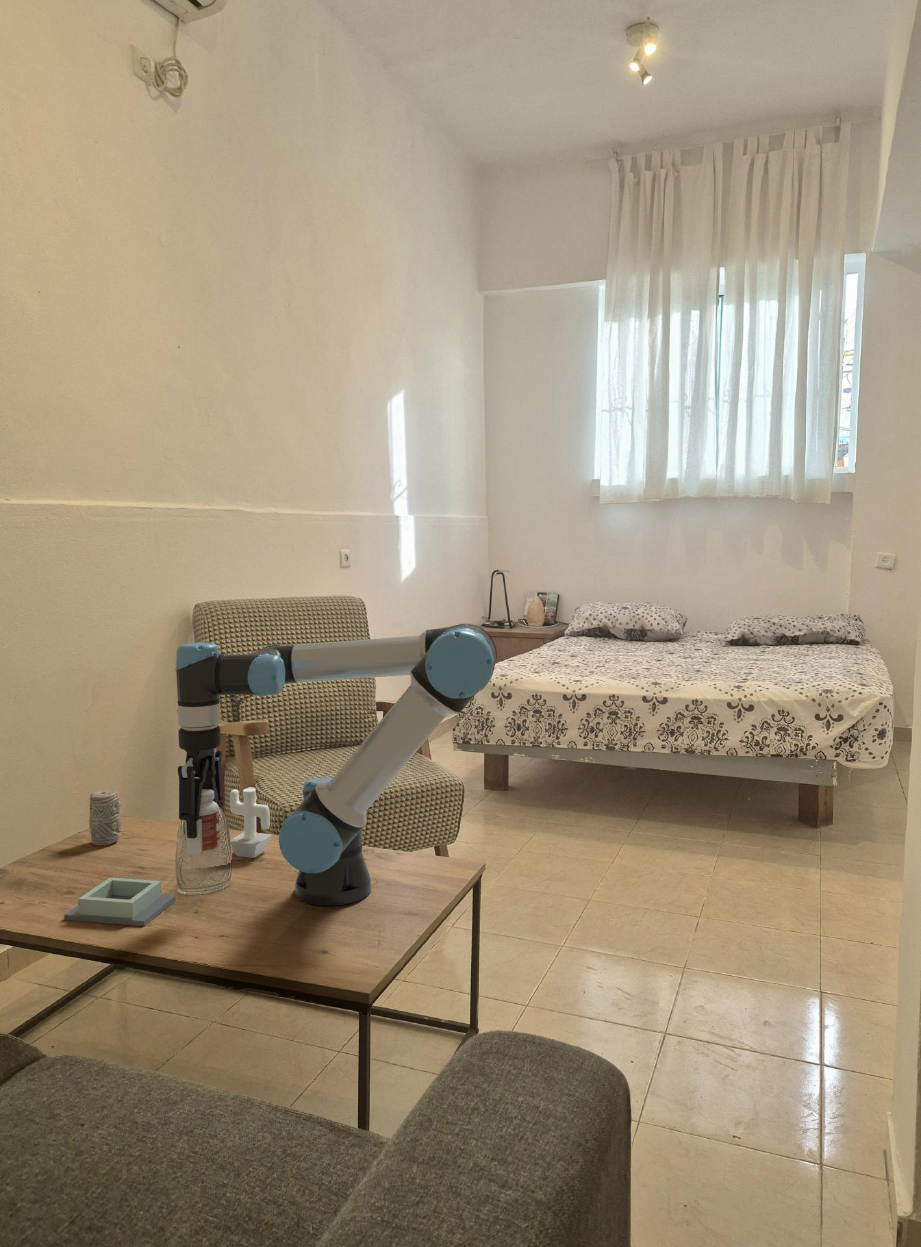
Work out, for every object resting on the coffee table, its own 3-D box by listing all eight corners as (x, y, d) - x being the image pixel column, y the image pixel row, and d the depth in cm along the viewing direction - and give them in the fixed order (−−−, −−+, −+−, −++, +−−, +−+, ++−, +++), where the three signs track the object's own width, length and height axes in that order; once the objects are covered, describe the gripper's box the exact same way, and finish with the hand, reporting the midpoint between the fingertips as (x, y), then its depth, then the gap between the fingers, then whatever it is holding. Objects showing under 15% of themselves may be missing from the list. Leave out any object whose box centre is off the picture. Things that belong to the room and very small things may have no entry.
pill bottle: (224, 851, 168) (222, 793, 167) (191, 857, 164) (189, 798, 163) (214, 842, 173) (212, 785, 172) (181, 848, 169) (179, 790, 168)
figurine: (260, 861, 198) (260, 794, 197) (223, 856, 201) (222, 791, 199) (277, 850, 205) (276, 786, 203) (240, 846, 208) (239, 782, 206)
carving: (83, 846, 207) (81, 795, 206) (104, 836, 214) (103, 787, 213) (107, 849, 205) (105, 797, 204) (127, 839, 212) (126, 789, 211)
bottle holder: (175, 900, 176) (175, 881, 175) (144, 926, 164) (143, 905, 164) (100, 895, 178) (99, 875, 178) (64, 919, 167) (63, 899, 166)
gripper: (203, 716, 176) (206, 830, 178) (154, 736, 158) (159, 864, 160) (239, 717, 175) (242, 832, 177) (195, 737, 156) (199, 866, 158)
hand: (203, 847), depth 168 cm, fingers closed on pill bottle, 6 cm apart
